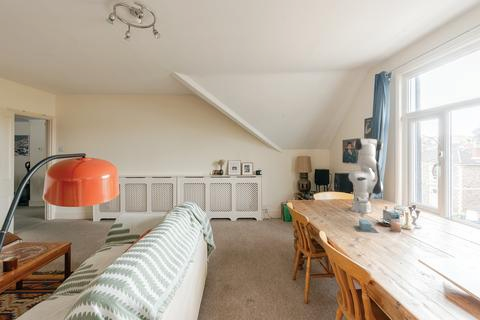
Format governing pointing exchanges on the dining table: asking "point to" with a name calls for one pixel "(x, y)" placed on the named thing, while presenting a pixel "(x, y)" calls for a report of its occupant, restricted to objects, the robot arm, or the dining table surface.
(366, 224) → the block
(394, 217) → the light bulb box
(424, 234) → the dining table surface
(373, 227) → the mat
